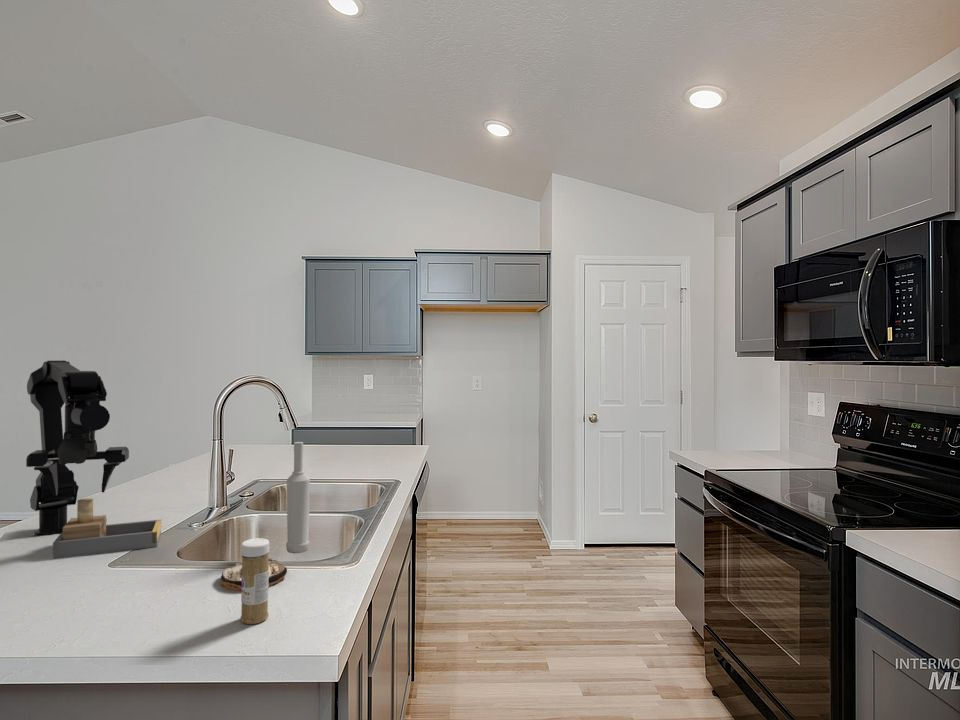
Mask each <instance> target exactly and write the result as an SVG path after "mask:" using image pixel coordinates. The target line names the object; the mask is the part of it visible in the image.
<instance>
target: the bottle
mask: <svg viewBox="0 0 960 720" xmlns="http://www.w3.org/2000/svg"><path fill="white" fill-rule="evenodd" d="M293 459H294V460H293V470H292V474H290V476H288V478H286V513H287V514H286V518H287V519H286V520H287V521H286V523H287V524H286V525H287V527H286V530H287V532H286V534H287V537H286V539H287V541H286V544H285V545H286V546H285V547H286V551H287V552H288V553H289V554H302V553H305V552H307V551H309V548H310V540H309V527H310V526H309V525H310V524H309V523H310V489H311V478H310V477H309V476H308V475H307V474H306V473H305V471H304V441H295V442H293Z"/></svg>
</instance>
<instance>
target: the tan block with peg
mask: <svg viewBox="0 0 960 720" xmlns="http://www.w3.org/2000/svg"><path fill="white" fill-rule="evenodd" d="M76 503H77V504H76V505H77V512H76V513H77V517H72V518H70V519H69V520H67V524H66V525H65V526H64V527H63V532H61V533H62V535H63V540H72V539H82V538H92V537H101V536H106V525H107V515H106V514H104V515H94V498H91V497H90V498H89V497H87V498H81V499H77V500H76Z"/></svg>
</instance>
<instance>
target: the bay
mask: <svg viewBox="0 0 960 720" xmlns="http://www.w3.org/2000/svg"><path fill="white" fill-rule="evenodd" d="M161 535H162V519H154V520H152V519H151V520H143V521H142V520H141V521H133V522H132V521H131V522H124V523H123V522H121V523H111V524H106V536H101V537H92V538H82V539H72V540H63V535H62V532H61V533H59V535H58V537H56V539H55V540H54V541H53V542H52V559H61V558H70V557H80V556H89V555H96V554H104V553H106V554H107V553H113V552H114V553H115V552H122V551H131V550H132V551H133V550H139V549H140V550H141V549H142V550H143V549H151V548H157V547H158V543H159V542H160V538H161Z"/></svg>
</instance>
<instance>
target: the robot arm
mask: <svg viewBox="0 0 960 720" xmlns="http://www.w3.org/2000/svg"><path fill="white" fill-rule="evenodd" d="M26 390H27V391H26V392H27V394H28V395H29V396H30V403H31V404H32V405H33V406H34V407H35V408H36V409H37V410H38V413H39V425H40V426H39V428H40V442H41V444H40V445H41V449H38V450H35V451H32V452H31V453H29V454H28V455H27V456H26V460H25V461H26V462H25V465H26V467H28V468H32V467H33V470H34V471H39V474H38V475H37V477H36V479H35V486H33V489H32V492H31V496H30V498H29V502H30V509H32V510H33V511H34V512H38V521H39V522H38V529H36V531H34V536H40V535H49V534H61V533H62V532H63V527H64V526H65V525H66V524H67V523H68V506H74V505H77V504H76V503H77V501H78V499H77V498H78V491H79V488H80V487H79V485H78V484H77V481H76V480H75V473H74V471H73V470H72V469H71V470H70V469H69V468H68V466H67V464H76V465H78V464H84V463H85V462H86V461H90V460H91V461H93V460H104V461H106V462H105V463H103V464H102V466H103V474H102V480H101V482H102V483H101V493H105V491H106V489H107V486H108V485H109V484H108V483H109V481H110V479H111V477H112V474H113V471H114V470H115V468H116V467H118V466H120V465H121V463H124V462H126V461H127V460H128V459H129V458H130V450H129V448H128V447H127V446H110V447H108V448H107V449H105V450H103V451H101V450H100V451H98V445H97V443H98V442H97V440H96V432H97V431H99V430H102V429H103V428H105V427H106V426H107V425H108V423H109V422H110V417H111V416H110V415H111V414H110V412H109V411H108V409H107V408H106V407H105V406H103V405H101V402H106V400H107V395H108V393H107V389H106V388H105V384H104V380H102V377H101V376H100V375H99V373H98V372H97V371H95V370H80V369H78V368H76V367H75V366H73V365H72V364H71V363H70V361H67V360H62V359H61V360H46V361H44V362H43V363H42V365H41V367H39V368H38V369H35V370H34V371H33V372H31V373H30V375H29V378H28V380H27V382H26ZM64 405H65V406H64ZM63 406H64V429H63V418H62V417H63V415H62V414H63V413H62V408H63Z"/></svg>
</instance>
